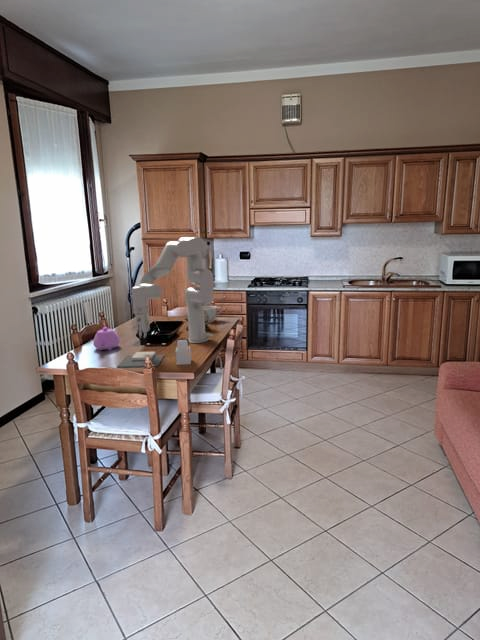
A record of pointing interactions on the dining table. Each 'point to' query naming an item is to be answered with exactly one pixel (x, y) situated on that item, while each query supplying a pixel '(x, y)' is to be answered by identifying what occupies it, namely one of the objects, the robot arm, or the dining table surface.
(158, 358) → the mat
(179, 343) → the medicine bottle
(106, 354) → the dining table surface
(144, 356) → the tile
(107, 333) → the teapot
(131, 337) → the dining table surface
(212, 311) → the teacup
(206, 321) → the owl figurine
